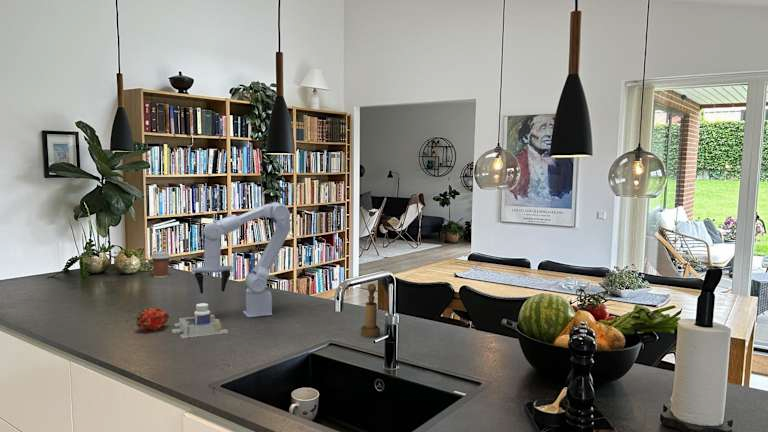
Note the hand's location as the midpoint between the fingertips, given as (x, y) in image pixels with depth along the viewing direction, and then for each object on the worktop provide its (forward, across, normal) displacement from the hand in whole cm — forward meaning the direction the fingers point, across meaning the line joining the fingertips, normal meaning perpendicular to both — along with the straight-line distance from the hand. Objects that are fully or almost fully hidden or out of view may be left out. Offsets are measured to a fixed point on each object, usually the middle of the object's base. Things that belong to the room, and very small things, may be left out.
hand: (212, 291), depth 201 cm
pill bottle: (+10, +6, +13) cm, 18 cm away
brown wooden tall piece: (+10, -45, +41) cm, 62 cm away
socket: (+10, +7, +12) cm, 17 cm away
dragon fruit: (+10, +21, +6) cm, 24 cm away
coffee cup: (+10, +8, -83) cm, 84 cm away
